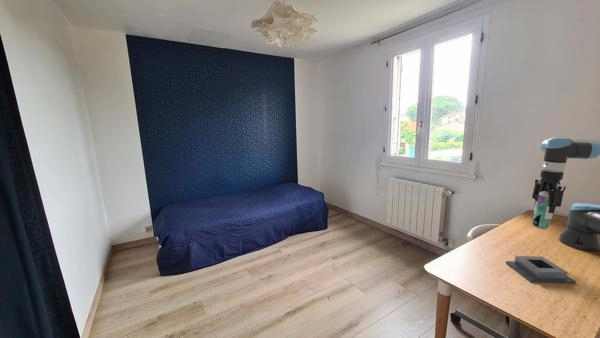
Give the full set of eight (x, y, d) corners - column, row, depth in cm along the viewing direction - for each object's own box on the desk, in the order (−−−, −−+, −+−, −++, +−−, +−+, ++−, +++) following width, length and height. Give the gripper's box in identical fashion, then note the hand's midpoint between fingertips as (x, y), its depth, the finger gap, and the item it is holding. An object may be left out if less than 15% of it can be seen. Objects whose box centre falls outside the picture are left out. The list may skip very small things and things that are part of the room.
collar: (545, 263, 117) (547, 255, 116) (575, 283, 103) (578, 274, 102) (505, 262, 118) (507, 254, 117) (530, 282, 104) (532, 272, 103)
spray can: (544, 225, 123) (553, 187, 118) (549, 230, 118) (558, 190, 114) (530, 223, 125) (538, 186, 121) (534, 228, 120) (543, 189, 116)
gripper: (528, 166, 125) (519, 208, 130) (562, 174, 107) (551, 223, 112) (543, 166, 124) (534, 209, 129) (581, 175, 106) (569, 224, 111)
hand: (542, 216), depth 120 cm, fingers closed on spray can, 5 cm apart
